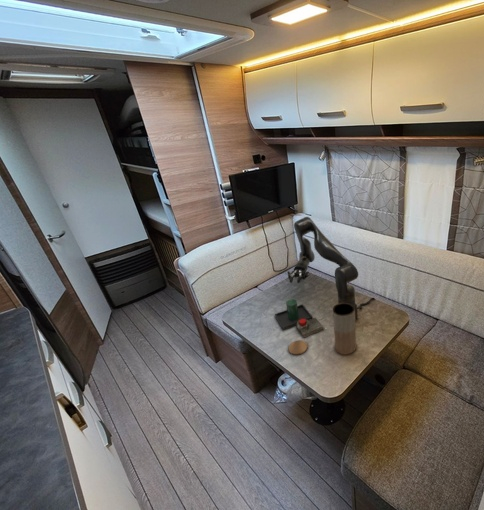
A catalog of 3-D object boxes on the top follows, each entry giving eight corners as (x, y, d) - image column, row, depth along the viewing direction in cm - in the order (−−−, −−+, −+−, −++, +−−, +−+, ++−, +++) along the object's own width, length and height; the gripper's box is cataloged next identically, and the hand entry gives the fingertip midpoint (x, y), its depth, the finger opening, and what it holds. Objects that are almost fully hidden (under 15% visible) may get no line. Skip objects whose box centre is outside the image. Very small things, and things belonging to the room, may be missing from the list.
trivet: (303, 339, 142) (302, 338, 142) (310, 350, 135) (310, 349, 135) (286, 346, 138) (286, 345, 138) (292, 357, 131) (292, 356, 131)
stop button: (304, 320, 150) (304, 317, 150) (307, 324, 148) (307, 321, 147) (298, 322, 149) (298, 320, 148) (301, 326, 146) (300, 323, 145)
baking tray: (302, 306, 168) (302, 304, 168) (312, 319, 157) (312, 316, 156) (275, 316, 161) (274, 314, 160) (283, 330, 149) (283, 327, 149)
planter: (337, 339, 141) (335, 301, 132) (357, 340, 139) (356, 303, 130) (333, 353, 132) (330, 314, 123) (354, 355, 130) (352, 316, 121)
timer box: (315, 320, 156) (314, 314, 154) (323, 329, 148) (322, 323, 147) (295, 327, 151) (294, 321, 149) (302, 338, 143) (301, 331, 141)
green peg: (296, 312, 162) (294, 298, 158) (300, 317, 158) (298, 303, 153) (286, 316, 160) (284, 301, 156) (290, 321, 155) (288, 306, 151)
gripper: (289, 262, 175) (281, 275, 160) (311, 262, 174) (305, 276, 158) (291, 272, 178) (283, 287, 163) (312, 273, 177) (307, 287, 161)
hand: (294, 281), depth 161 cm, fingers open, 3 cm apart
